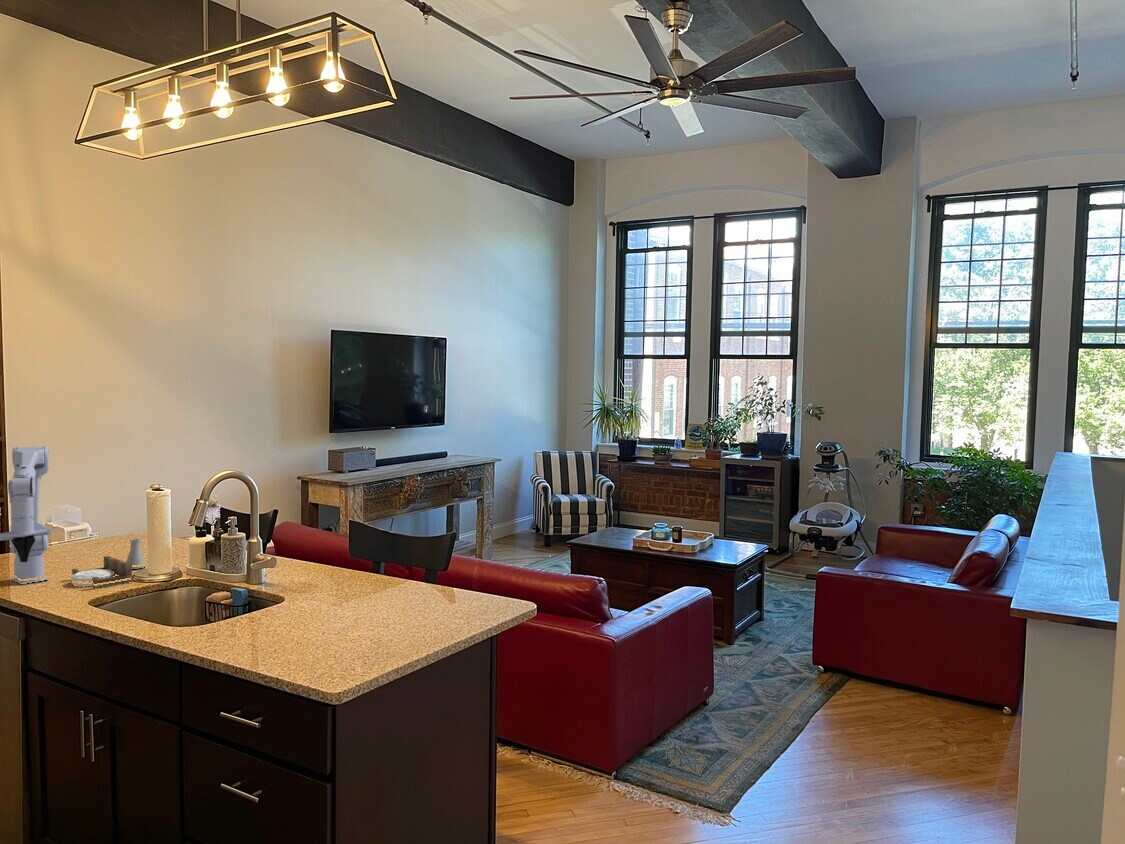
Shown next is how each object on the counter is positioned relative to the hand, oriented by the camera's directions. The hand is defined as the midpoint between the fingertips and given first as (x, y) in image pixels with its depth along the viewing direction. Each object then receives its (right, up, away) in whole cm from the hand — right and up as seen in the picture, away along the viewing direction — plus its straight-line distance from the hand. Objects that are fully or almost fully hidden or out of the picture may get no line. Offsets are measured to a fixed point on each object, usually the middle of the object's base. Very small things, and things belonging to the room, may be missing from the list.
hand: (23, 561), depth 251 cm
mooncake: (+14, -9, +13) cm, 21 cm away
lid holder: (+16, -9, +14) cm, 23 cm away
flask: (+17, -8, +33) cm, 38 cm away
